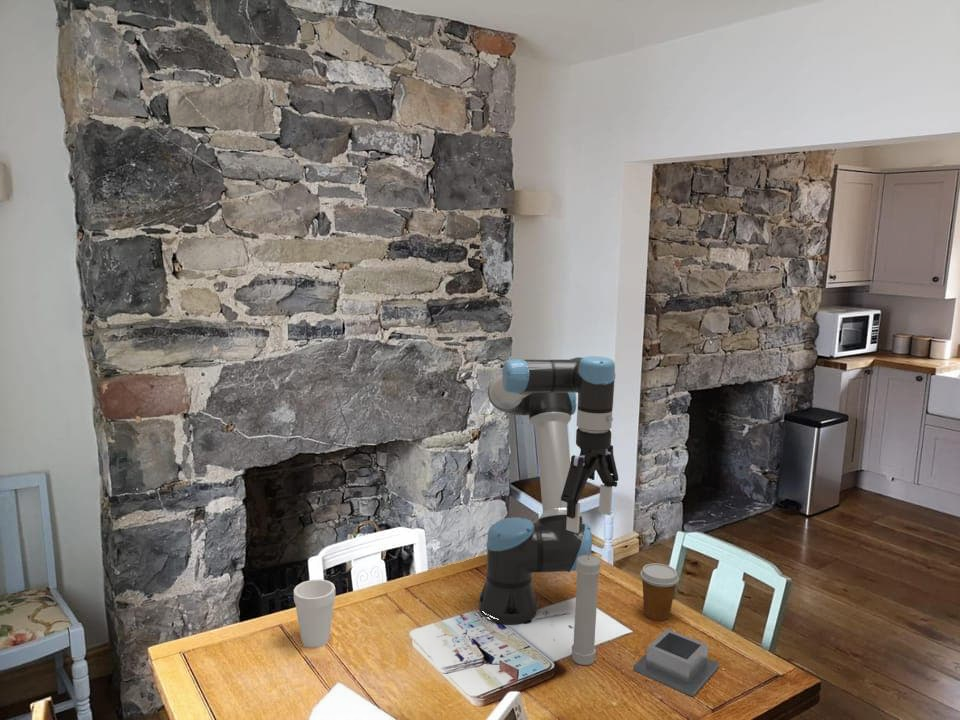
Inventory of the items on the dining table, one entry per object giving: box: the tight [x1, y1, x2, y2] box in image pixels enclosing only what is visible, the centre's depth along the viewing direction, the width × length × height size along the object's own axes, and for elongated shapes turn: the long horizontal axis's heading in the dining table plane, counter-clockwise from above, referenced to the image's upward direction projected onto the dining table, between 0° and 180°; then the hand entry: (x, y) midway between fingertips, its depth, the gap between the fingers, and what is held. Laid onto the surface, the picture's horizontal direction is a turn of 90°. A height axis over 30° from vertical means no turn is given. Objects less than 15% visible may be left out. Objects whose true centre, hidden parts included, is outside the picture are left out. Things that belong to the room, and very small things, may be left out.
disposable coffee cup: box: [640, 562, 680, 621], centre depth 181 cm, size 10×10×12 cm
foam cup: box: [293, 579, 336, 649], centre depth 165 cm, size 10×9×13 cm
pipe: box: [571, 534, 601, 666], centre depth 159 cm, size 6×6×30 cm
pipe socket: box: [632, 628, 720, 698], centre depth 158 cm, size 14×14×6 cm
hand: (589, 522), depth 156 cm, fingers open, 13 cm apart
